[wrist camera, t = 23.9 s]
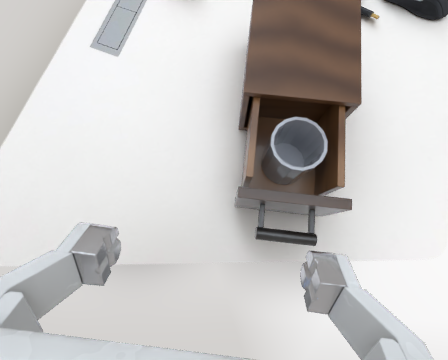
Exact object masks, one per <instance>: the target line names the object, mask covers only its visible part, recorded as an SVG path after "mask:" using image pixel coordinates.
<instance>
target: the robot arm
mask: <svg viewBox="0 0 448 360" xmlns="http://www.w3.org/2000/svg"><path fill="white" fill-rule="evenodd" d="M118 234H119V232H118V228H116V227H112V226H105V225H98V224H90V223H83V222H81V223H79V224H77V225H76V227H75V228H74V229H73V230H72V231H71V233H70V234H69V235H68V236H67V237H66V239H65V240H64V241H63V242H62V243H61V245H60V246H59V247H58V248H57V249H56V251H50V252H48V253H46V254H44V255H42V256H40V257H38V258H36V259H34V260H32V261H30V262H28V263H26V264H24V265H22V266H20V267H18V268H17V269H14V270H13V271H11V272H9V273H7V274H5V275H3V276H1V277H0V360H254V359H246V358H238V357H231V356H223V355H214V354H207V353H199V352H191V351H183V350H176V349H175V350H174V349H168V348H160V347H152V346H144V345H135V344H128V343H120V342H112V341H104V340H96V339H88V338H81V337H73V336H64V335H57V334H49V333H43V329H42V328H41V326H40V324H39V322H38V319H39V318H41V317H42V316H43V315H45V314H46V313H47V312H49V311H50V310H51V309H53V308H54V307H55V306H56V305H58V304H59V303H60V302H62V301H63V300H64V299H65V298H67V297H68V296H69V295H71V294H72V293H73V292H74V291H75V290H77V289H78V288H79V287H81V286H82V284H89V285H99V286H100V285H101V286H104V284H105V282H106V280H107V278H108V276H109V275H110V273H111V270H110V267H111V266H112V265H114V264H115V263H116V262H117V260H118V258H119V254H120V251H121V243H120V241H119V240H118V239H117V236H118ZM306 260H307V262H305V263H303V265H302V268H301V275H300V277H301V284H302V287H303V288H304V289H305V290H306V292H305V295H304V299H305V303H306V307H307V311H308V312H315V313H321V314H328V316H329V317H330V319H331V320H332V322H333V323H334V324H335V326H336V327H337V328H338V330H339V331H340V332H341V333H342V335H343V336H344V338H345V339H346V340H347V342H348V343H349V344H350V346H351V347H352V348H353V350H354V351H355V352H356V354H357V355H358V356H359V358H360V359H361V360H434V359H433V358H432V356H431V354H430V352H429V350H428V349H427V347H426V345H425V343H424V342H423V341H422V340H421V339H420V338H419V337H417V336H416V335H415V334H414V333H413V332H412V331H411V330H410V329H409V328H408V327H407V326H405V325H404V324H403V323H402V322H401V321H400V320H399V319H398V318H397V317H396V316H394V315H393V314H392V313H391V312H390V311H389V310H388V309H387V308H386V307H384V306H383V305H382V304H381V303H380V302H379V301H378V300H377V299H375V298H374V297H373V296H372V295H371V294H370V293H369V292H368V291H367V290H365V289H362V288H361V286H360V284H359V281H358V279H357V277H356V275H355V272H354V270H353V268H352V266H351V263H350V261H349V259H348V257H347V256H346V255H344V254H335V253H326V252H317V251H308V252H307V255H306Z"/></svg>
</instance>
